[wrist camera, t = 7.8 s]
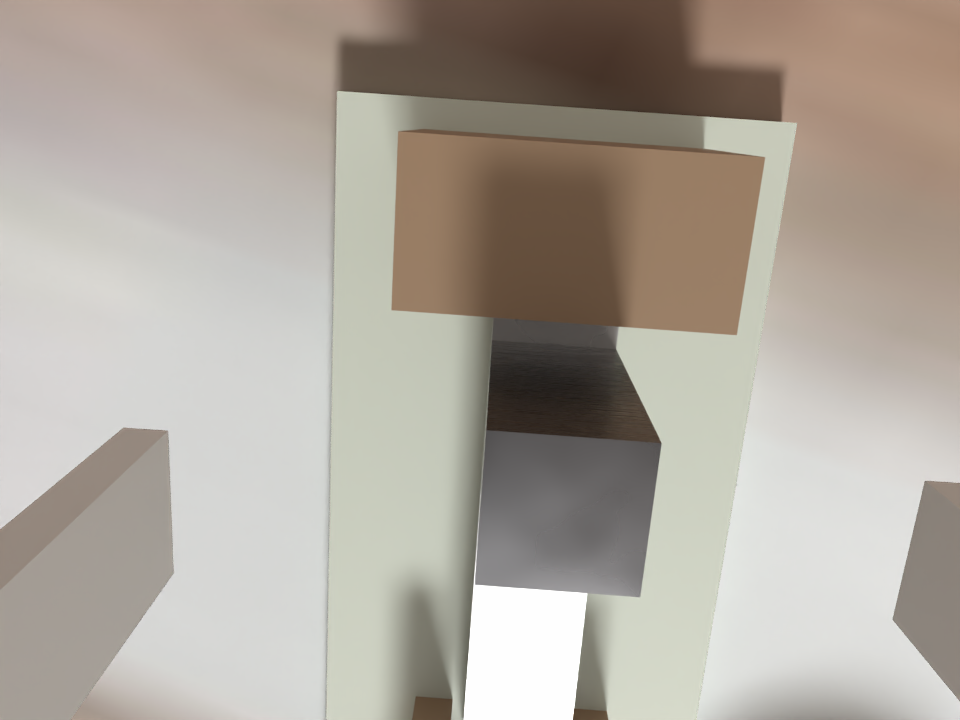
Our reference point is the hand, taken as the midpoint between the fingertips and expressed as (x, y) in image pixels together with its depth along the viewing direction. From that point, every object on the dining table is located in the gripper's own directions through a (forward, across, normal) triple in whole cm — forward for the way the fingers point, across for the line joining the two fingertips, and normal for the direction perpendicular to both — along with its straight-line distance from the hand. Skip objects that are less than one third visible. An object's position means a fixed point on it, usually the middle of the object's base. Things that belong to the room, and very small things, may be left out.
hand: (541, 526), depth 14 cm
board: (+11, +1, -8) cm, 13 cm away
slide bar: (+9, +1, -4) cm, 10 cm away
